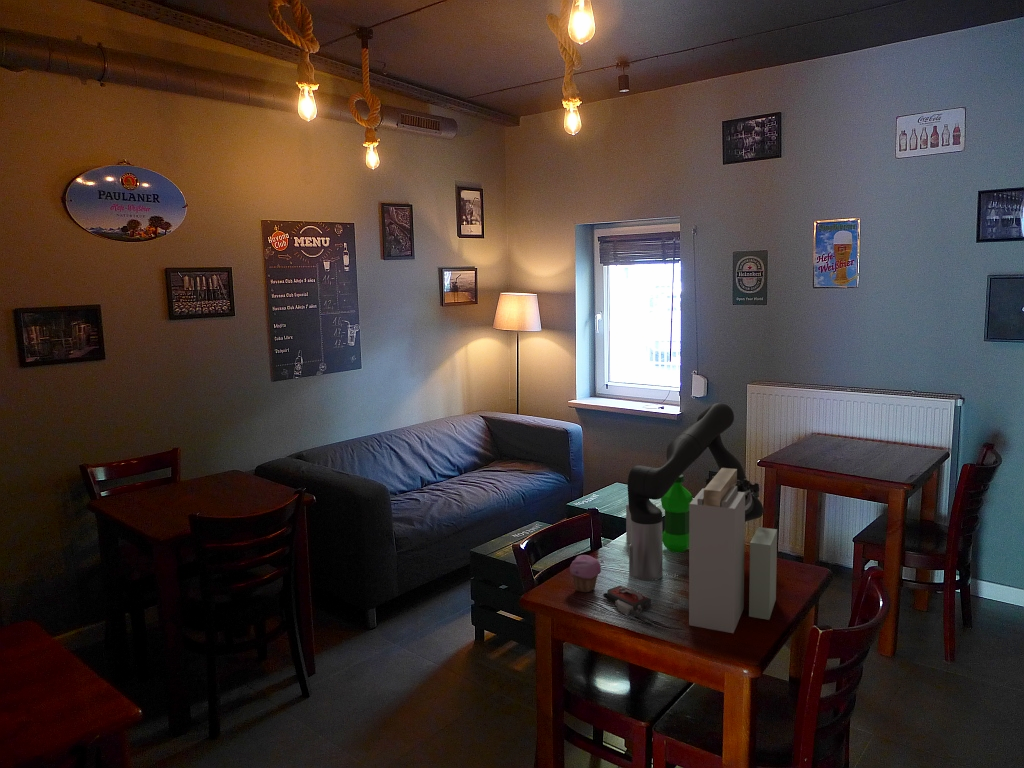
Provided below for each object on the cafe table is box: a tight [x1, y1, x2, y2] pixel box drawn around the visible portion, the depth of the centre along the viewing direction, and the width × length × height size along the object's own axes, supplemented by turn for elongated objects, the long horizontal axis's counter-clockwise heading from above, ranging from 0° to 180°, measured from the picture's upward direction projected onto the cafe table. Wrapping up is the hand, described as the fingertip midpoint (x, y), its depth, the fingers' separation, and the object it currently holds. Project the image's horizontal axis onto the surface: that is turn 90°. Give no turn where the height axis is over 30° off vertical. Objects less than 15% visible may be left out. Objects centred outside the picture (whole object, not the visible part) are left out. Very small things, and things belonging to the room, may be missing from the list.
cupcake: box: [569, 554, 602, 593], centre depth 206 cm, size 9×9×10 cm
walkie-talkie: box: [603, 585, 654, 624], centre depth 193 cm, size 9×4×20 cm
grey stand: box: [688, 486, 746, 634], centre depth 185 cm, size 11×15×34 cm
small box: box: [625, 503, 657, 544], centre depth 243 cm, size 8×6×13 cm
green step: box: [748, 526, 778, 621], centre depth 190 cm, size 5×13×20 cm, turn 153°
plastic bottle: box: [660, 474, 694, 554], centre depth 234 cm, size 10×10×25 cm
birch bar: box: [704, 468, 737, 507], centre depth 186 cm, size 4×23×4 cm, turn 153°
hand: (728, 481), depth 196 cm, fingers open, 8 cm apart
